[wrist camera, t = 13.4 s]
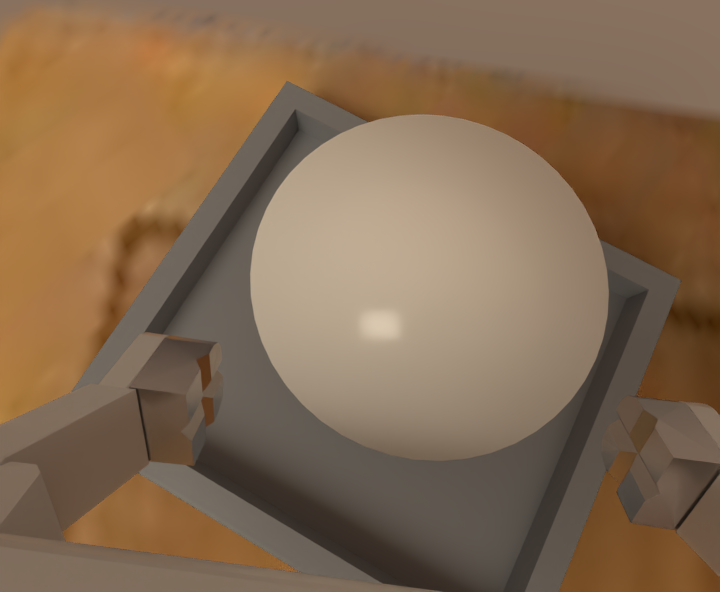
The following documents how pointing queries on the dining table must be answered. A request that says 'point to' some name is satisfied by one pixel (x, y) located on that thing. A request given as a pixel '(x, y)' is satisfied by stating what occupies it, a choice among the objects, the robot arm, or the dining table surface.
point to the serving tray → (348, 458)
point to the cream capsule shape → (429, 287)
